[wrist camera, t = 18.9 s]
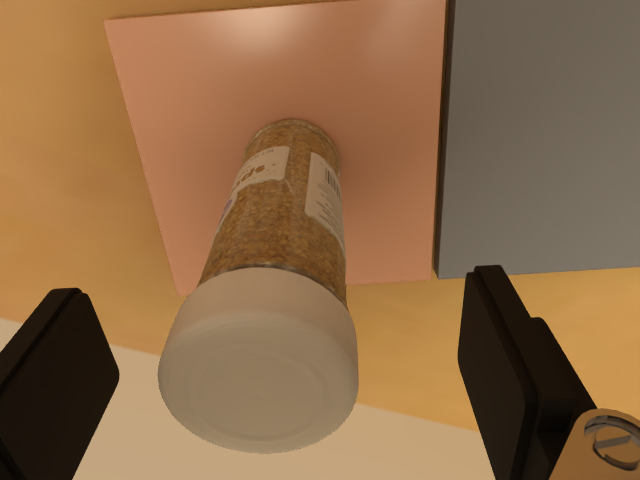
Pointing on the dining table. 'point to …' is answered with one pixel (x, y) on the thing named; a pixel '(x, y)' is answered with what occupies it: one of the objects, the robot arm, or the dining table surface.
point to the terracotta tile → (290, 117)
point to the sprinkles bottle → (269, 306)
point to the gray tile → (540, 137)
